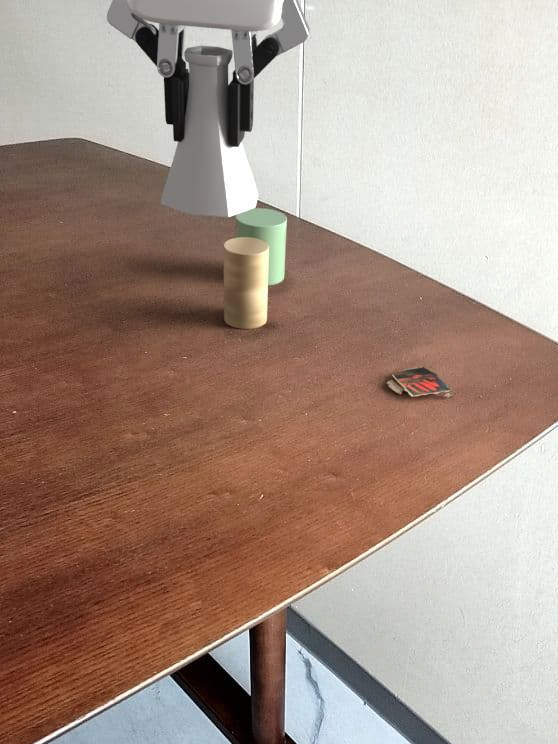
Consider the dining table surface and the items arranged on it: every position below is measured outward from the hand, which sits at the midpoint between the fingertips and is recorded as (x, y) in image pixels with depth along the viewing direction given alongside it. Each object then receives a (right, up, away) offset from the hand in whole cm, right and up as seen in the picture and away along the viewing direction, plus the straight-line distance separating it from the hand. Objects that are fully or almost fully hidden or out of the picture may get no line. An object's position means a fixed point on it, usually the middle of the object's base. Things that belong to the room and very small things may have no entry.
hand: (209, 136), depth 61 cm
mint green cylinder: (+2, -2, +27) cm, 27 cm away
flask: (0, -4, +3) cm, 5 cm away
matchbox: (+16, -16, +12) cm, 25 cm away
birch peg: (+1, -8, +20) cm, 21 cm away
